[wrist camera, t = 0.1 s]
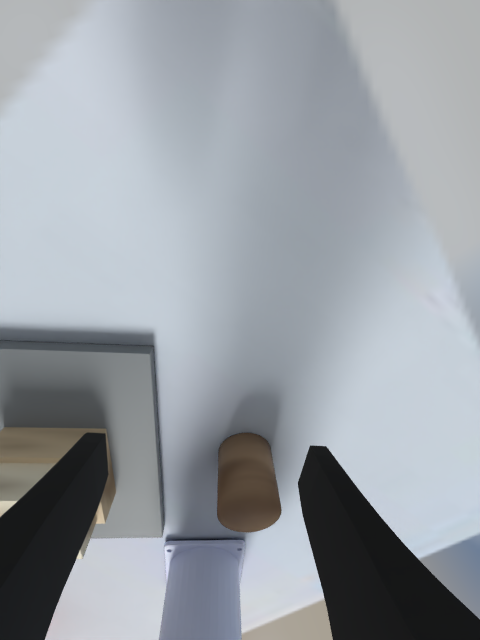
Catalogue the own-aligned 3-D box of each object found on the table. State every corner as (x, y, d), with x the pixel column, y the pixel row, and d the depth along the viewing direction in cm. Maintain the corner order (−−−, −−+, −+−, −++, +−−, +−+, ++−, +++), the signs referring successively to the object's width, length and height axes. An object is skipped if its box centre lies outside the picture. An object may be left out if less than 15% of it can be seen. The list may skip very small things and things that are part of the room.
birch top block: (97, 519, 22) (82, 558, 19) (12, 520, 21) (-14, 560, 19) (85, 463, 19) (66, 500, 17) (-12, 462, 19) (-45, 501, 16)
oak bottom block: (116, 491, 24) (105, 523, 22) (27, 491, 24) (6, 524, 21) (106, 428, 21) (92, 457, 19) (4, 427, 21) (-23, 457, 18)
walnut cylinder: (267, 470, 26) (277, 531, 21) (217, 470, 25) (216, 532, 21) (273, 433, 24) (285, 491, 19) (219, 432, 23) (218, 492, 19)
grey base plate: (164, 526, 28) (162, 537, 27) (10, 527, 27) (3, 539, 26) (153, 346, 20) (149, 353, 19) (-71, 338, 19) (-86, 345, 18)
